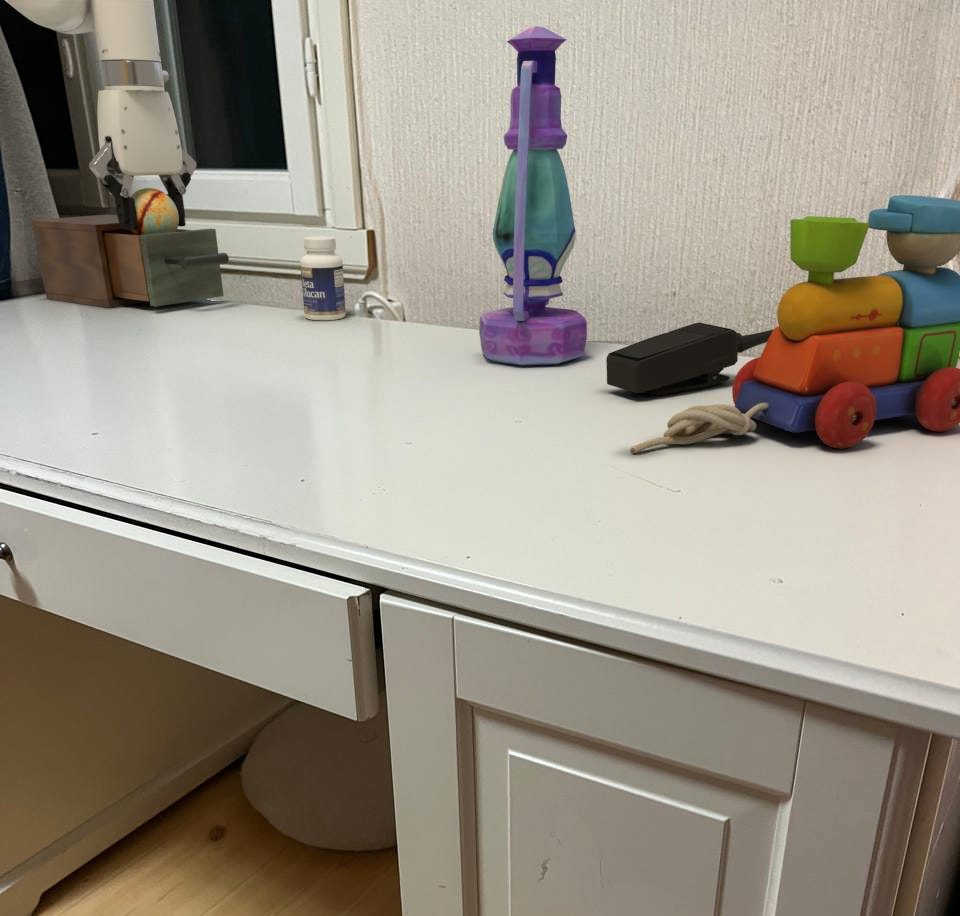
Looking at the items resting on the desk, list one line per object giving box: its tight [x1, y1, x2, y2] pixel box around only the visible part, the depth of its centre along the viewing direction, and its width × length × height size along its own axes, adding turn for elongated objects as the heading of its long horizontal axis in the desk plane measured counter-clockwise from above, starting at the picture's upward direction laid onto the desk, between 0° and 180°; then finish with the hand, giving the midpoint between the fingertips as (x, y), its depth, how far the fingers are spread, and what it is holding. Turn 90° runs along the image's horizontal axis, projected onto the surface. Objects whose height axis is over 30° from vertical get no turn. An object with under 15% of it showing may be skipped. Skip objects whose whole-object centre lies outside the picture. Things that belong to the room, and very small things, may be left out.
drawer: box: [101, 228, 230, 308], centre depth 137 cm, size 20×12×9 cm, turn 53°
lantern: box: [478, 25, 588, 366], centre depth 98 cm, size 13×12×30 cm
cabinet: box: [30, 214, 150, 309], centre depth 144 cm, size 16×13×11 cm
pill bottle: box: [299, 235, 347, 321], centre depth 127 cm, size 5×5×10 cm
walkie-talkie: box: [605, 322, 774, 396], centre depth 92 cm, size 6×6×20 cm
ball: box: [129, 187, 179, 235], centre depth 134 cm, size 7×7×7 cm
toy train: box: [629, 194, 960, 454], centre depth 74 cm, size 12×29×17 cm, turn 115°
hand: (153, 226), depth 135 cm, fingers closed on ball, 7 cm apart
